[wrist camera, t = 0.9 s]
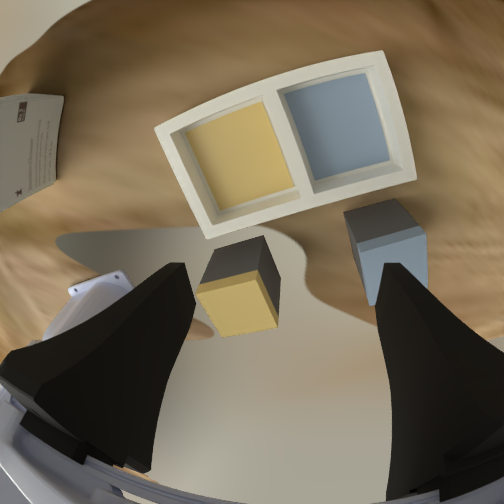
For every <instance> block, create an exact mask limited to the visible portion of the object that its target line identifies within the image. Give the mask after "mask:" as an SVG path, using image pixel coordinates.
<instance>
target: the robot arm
mask: <svg viewBox="0 0 504 504" xmlns="http://www.w3.org/2000/svg"><path fill="white" fill-rule="evenodd" d="M117 275H118V276H119V277H118V276H117ZM68 291H69V293H70V295H71V296H72V297H71V298H70V300H69V301H68V302H67V303H66V304H65V306H64V307H63V308H62V309H61V311H60V312H59V313H58V314H57V316H56V317H55V318H54V320H53V321H52V322H51V323H50V325H49V326H48V327H47V329H46V331H45V333H44V336H43V341H41V340H40V339H39V340H32V341H31V342H30V343H29V345H28V346H27V347H24V348H20V349H17V350H13V351H11V352H10V353H9V354H8V355H7V356H6V357H5V359H4V360H3V362H2V363H1V365H0V383H1V389H0V504H140V503H137V502H134V501H131V500H129V499H126V498H125V497H124V496H123V493H122V491H121V490H124V491H126V492H129V493H131V494H133V495H136V496H139V497H141V498H144V499H147V500H149V501H152V502H155V503H158V504H245V503H238V502H231V501H226V500H220V499H214V498H210V497H205V496H200V495H196V494H192V493H188V492H184V491H180V490H177V489H173V488H170V487H166V486H163V485H160V484H157V483H154V482H151V481H148V480H145V479H142V478H139V477H137V476H134V475H131V474H129V473H126V472H124V471H121V470H119V469H117V468H114V467H113V464H114V465H116V466H118V467H121V468H123V467H126V468H129V469H131V470H134V471H137V472H139V473H142V474H143V473H146V472H149V471H150V470H151V462H152V453H153V445H154V438H155V432H156V427H157V421H158V417H159V412H160V408H161V404H162V399H163V396H164V392H165V389H166V385H167V382H168V379H169V376H170V373H171V370H172V368H173V366H174V363H175V361H176V358H177V356H178V354H179V352H180V349H181V347H182V345H183V342H184V340H185V338H186V335H187V333H188V330H189V328H190V325H191V322H192V318H193V314H194V310H195V306H196V302H195V298H194V295H193V292H192V288H191V285H190V281H189V278H188V274H187V270H186V267H185V263H169V264H167V265H165V266H164V267H162V268H161V269H159V270H158V271H157V272H155V273H154V274H153V275H151V276H150V277H149V278H147V279H146V280H145V281H143V282H142V283H141V284H139V285H138V286H137V287H135V286H134V284H133V283H132V281H131V280H130V278H129V277H128V275H127V274H126V272H125V271H124V270H121V269H119V270H116V271H114V272H110V273H107V274H105V275H102V276H99V277H96V278H93V279H90V280H87V281H84V282H81V283H79V284H76V285H73V286H70V287H69V288H68ZM375 310H376V319H377V327H378V333H379V337H380V341H381V346H382V350H383V354H384V359H385V363H386V368H387V373H388V378H389V383H390V390H391V405H392V448H391V462H390V470H389V478H388V485H387V491H386V502H380V503H373V504H504V353H503V352H502V351H500V350H499V349H497V348H496V347H495V346H493V345H492V344H490V343H489V342H487V341H486V340H485V339H483V338H482V337H481V336H479V335H478V334H477V333H475V332H474V331H473V330H472V329H470V328H469V327H468V326H467V325H466V324H464V323H463V322H462V321H461V320H460V319H458V318H457V317H456V316H455V315H454V314H453V313H452V312H451V311H450V310H449V309H447V308H446V307H445V306H444V305H443V304H442V303H441V302H440V301H439V300H438V299H437V298H436V297H435V296H434V295H433V294H432V293H431V292H430V291H429V290H428V289H427V288H426V287H425V286H424V285H423V284H422V283H421V282H420V281H419V280H418V279H417V278H416V277H415V276H414V275H413V274H412V273H411V272H410V271H409V270H407V269H406V268H405V267H404V266H403V265H402V264H401V263H384V266H383V271H382V276H381V281H380V286H379V291H378V295H377V300H376V304H375ZM120 489H121V490H120Z"/></svg>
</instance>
